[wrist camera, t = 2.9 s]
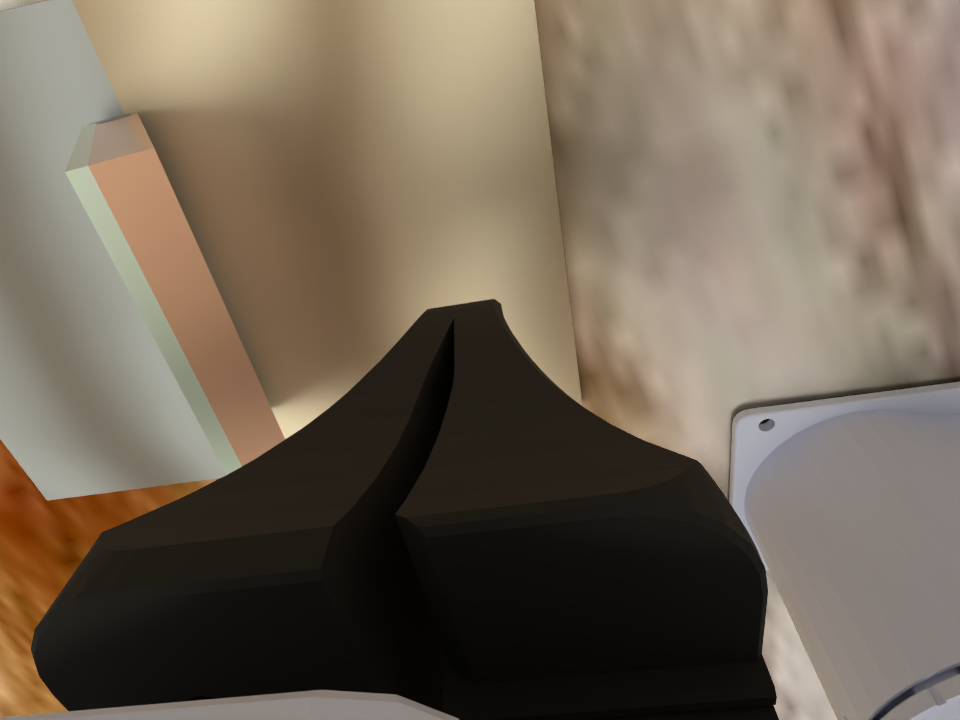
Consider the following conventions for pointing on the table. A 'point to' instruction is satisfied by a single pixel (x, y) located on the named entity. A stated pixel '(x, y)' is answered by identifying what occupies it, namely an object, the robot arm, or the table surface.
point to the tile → (172, 285)
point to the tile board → (267, 208)
